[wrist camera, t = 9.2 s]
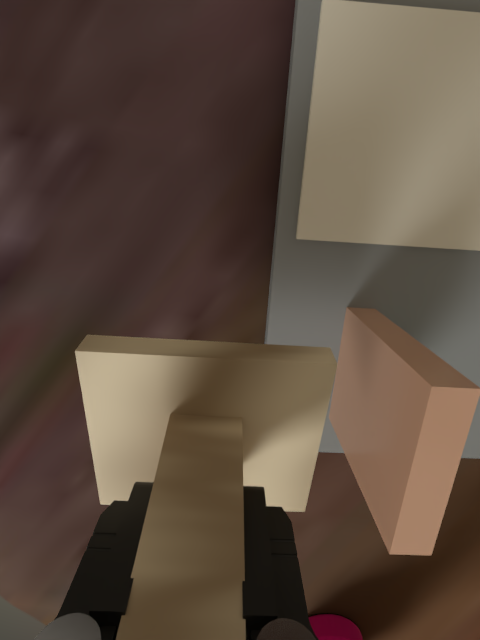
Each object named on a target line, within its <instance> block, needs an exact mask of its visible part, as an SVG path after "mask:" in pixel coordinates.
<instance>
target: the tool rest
mask: <svg viewBox="0 0 480 640" xmlns="http://www.w3.org/2000/svg"><path fill="white" fill-rule="evenodd" d="M296 239H303V240H318V241H334V242H350V243H366V244H381V245H397V246H413V247H429V248H444V249H460V250H476V251H480V12H469V11H457V10H446V9H435V8H424V7H412V6H401V5H390V4H379V3H367V2H356V1H345V0H322V2H321V10H320V20H319V29H318V38H317V47H316V56H315V65H314V75H313V84H312V93H311V102H310V111H309V121H308V130H307V139H306V148H305V157H304V167H303V176H302V185H301V194H300V203H299V213H298V222H297V231H296Z"/></svg>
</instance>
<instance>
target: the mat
mask: <svg viewBox="0 0 480 640" xmlns="http://www.w3.org/2000/svg"><path fill="white" fill-rule="evenodd" d="M345 1H356V2H367V3H379V4H390V5H401V6H412V7H424V8H435V9H446V10H457V11H469V12H480V0H345ZM321 2H322V0H296V2H295V13H294V24H293V35H292V46H291V57H290V68H289V79H288V90H287V101H286V112H285V123H284V134H283V145H282V156H281V167H280V178H279V189H278V200H277V211H276V222H275V233H274V244H273V255H272V266H271V277H270V288H269V299H268V310H267V321H266V332H265V343H264V344H272V345H292V346H311V347H330V348H331V350H332V353H333V355H334V357H335V360H336V362H337V363H338V357H339V351H340V344H341V338H342V332H343V326H344V319H345V313H346V307H352V308H370V309H376V310H377V311H379V312H380V313H381V314H383V315H384V316H385V317H387V318H388V319H389V320H391V321H392V322H393V323H395V324H396V325H397V326H399V327H400V328H401V329H403V330H404V331H405V332H407V333H408V334H409V335H411V336H412V337H413V338H415V339H416V340H417V341H419V342H420V343H421V344H423V345H424V346H425V347H427V348H428V349H429V350H431V351H432V352H433V353H435V354H436V355H437V356H439V357H440V358H441V359H443V360H444V361H445V362H446V363H448V364H449V365H450V366H452V367H453V368H454V369H456V370H457V371H458V372H460V373H461V374H462V375H464V376H465V377H466V378H468V379H469V380H470V381H472V382H473V383H474V384H476V385H477V386H478V387H480V251H476V250H460V249H444V248H429V247H413V246H397V245H381V244H366V243H350V242H334V241H318V240H303V239H296V231H297V222H298V213H299V203H300V194H301V185H302V176H303V167H304V157H305V148H306V139H307V130H308V121H309V111H310V102H311V93H312V84H313V75H314V65H315V56H316V47H317V38H318V29H319V20H320V10H321ZM335 376H336V374H335ZM334 382H335V379H334ZM333 388H334V383H333V387H332V392H331V396H330V401H329V405H328V410H327V414H326V419H325V423H324V428H323V432H322V437H321V441H320V446H319V450H318V452H333V453H344V451H343V449H342V446H341V444H340V442H339V440H338V437H337V435H336V433H335V431H334V428H333V426H332V424H331V422H330V419H329V413H330V407H331V401H332V394H333ZM461 458H479V459H480V396H479V399H478V403H477V406H476V409H475V413H474V416H473V419H472V423H471V426H470V429H469V433H468V436H467V439H466V443H465V446H464V449H463V453H462V456H461Z"/></svg>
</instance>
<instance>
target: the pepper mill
mask: <svg viewBox="0 0 480 640" xmlns="http://www.w3.org/2000/svg"><path fill="white" fill-rule="evenodd" d="M309 621H310V624H311V627H312V629H313V631H314V633H315V635H316V636H317V638H318V639H319V640H363V638H362V635H361V632H360V630H359V628H358V627H357V626H356V625H355V624H354V623H353V622H352V621H351V620H349V619H347V618H345V617H342V616H339V615H334V614H320V615H314V616H311V617H309Z"/></svg>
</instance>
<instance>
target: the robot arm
mask: <svg viewBox="0 0 480 640" xmlns="http://www.w3.org/2000/svg"><path fill="white" fill-rule="evenodd" d="M153 483H154V482H135V483H134V486H133V488H132V491H131V494H130V497H129V500H128V501H117V500H114V501H113V502H112V503H111V504H110V506H109V507H108V508H107V509H106V510H105V511H104V512H103V513H102V514H101V515H100V518H99V520H98V522H97V525H96V527H95V529H94V532H93V536H91V539H90V541H89V543H88V546H87V550H86V551H85V553H84V555H83V558H82V560H81V562H80V565H79V567H78V569H77V572H76V574H75V576H74V579H73V581H72V583H71V586H70V588H69V590H68V593H67V595H66V597H65V600H64V602H63V605H62V607H61V609H60V611H59V613H58V615H57V617H56V618H55V620H54V621H52V622H51V623H49V624H48V625H47V626H46V627H45V628H44V629H43V630H42V631H41V632H40V633H39V634H38V635H37V637H36V638H35V639H34V640H116V637H117V632H118V628H119V624H120V620H121V616H122V615H125V614H126V610H127V605H128V601H129V597H130V592H131V588H132V584H133V580H134V578H131V574H132V570H133V566H134V562H135V558H136V554H137V550H138V545H139V541H140V537H141V533H142V529H143V525H144V521H145V516H146V512H147V508H148V504H149V500H150V496H151V492H152V487H153ZM243 499H244V560H245V581H242V601H243V619H245V621H246V640H319V639H318V638H317V636H316V635H315V633H314V631H313V629H312V627H311V624H310V621H309V617H308V612H307V606H306V601H305V595H304V590H303V584H302V579H301V573H300V567H299V562H298V558H297V551H296V545H295V542H294V534H293V528H292V523H291V521H290V519H289V517H288V516H287V514H286V513H285V511H284V510H283V508H282V507H275V506H266V500H265V490H264V487H259V486H243Z"/></svg>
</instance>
